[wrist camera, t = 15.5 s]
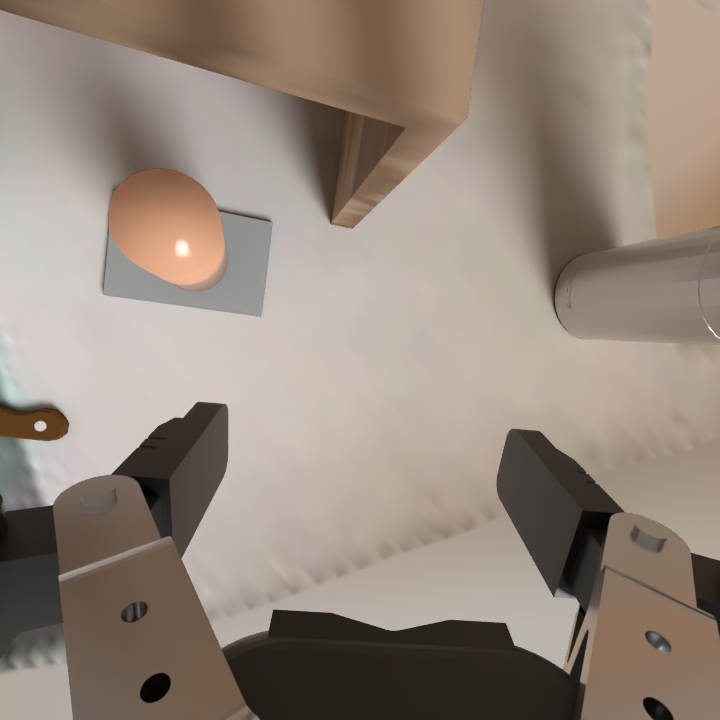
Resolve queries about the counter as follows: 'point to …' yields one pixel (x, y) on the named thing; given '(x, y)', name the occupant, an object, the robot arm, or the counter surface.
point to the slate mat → (231, 294)
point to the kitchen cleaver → (33, 424)
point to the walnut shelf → (316, 66)
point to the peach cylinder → (169, 228)
